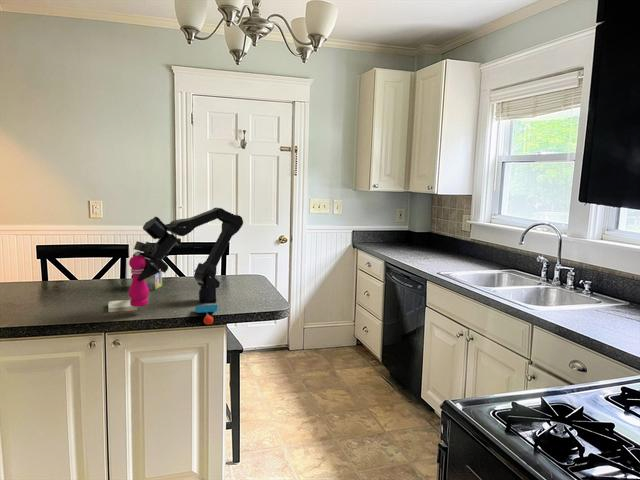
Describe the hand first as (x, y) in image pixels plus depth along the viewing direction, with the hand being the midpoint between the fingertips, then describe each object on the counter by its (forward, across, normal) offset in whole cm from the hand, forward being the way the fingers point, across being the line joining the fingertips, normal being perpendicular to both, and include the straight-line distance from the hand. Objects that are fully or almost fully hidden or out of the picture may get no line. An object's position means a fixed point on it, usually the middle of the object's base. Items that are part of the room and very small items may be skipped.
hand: (134, 279), depth 171 cm
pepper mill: (+6, 0, +8) cm, 10 cm away
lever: (-3, +19, +23) cm, 30 cm away
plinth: (+10, -12, +9) cm, 18 cm away
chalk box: (-5, -36, +25) cm, 44 cm away
